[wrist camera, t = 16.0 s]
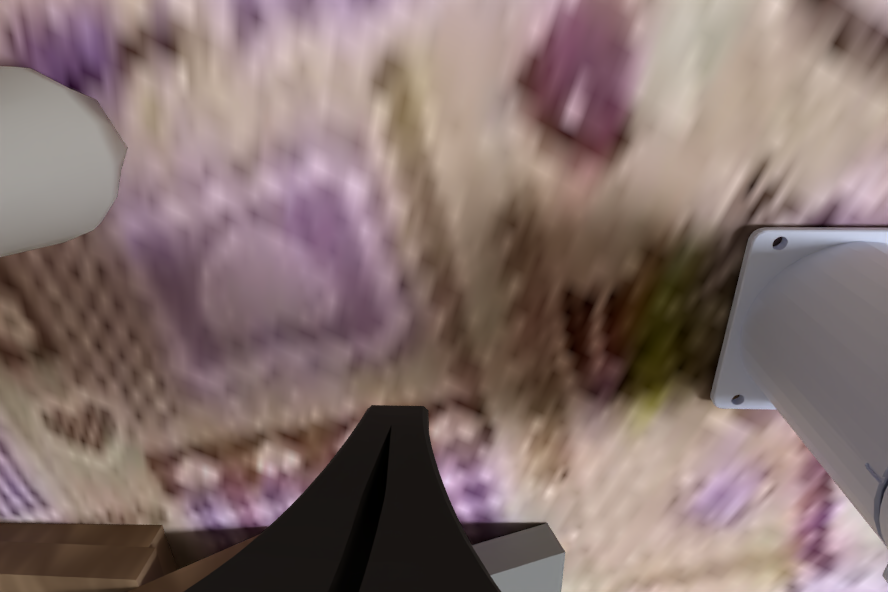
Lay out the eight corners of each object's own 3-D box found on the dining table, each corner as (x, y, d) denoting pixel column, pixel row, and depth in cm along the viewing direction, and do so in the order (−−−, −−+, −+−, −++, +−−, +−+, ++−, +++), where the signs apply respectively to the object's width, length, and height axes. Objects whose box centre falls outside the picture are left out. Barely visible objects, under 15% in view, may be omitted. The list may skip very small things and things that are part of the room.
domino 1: (148, 547, 28) (-25, 544, 28) (171, 609, 30) (10, 606, 30) (165, 518, 29) (2, 516, 30) (186, 579, 32) (34, 577, 32)
